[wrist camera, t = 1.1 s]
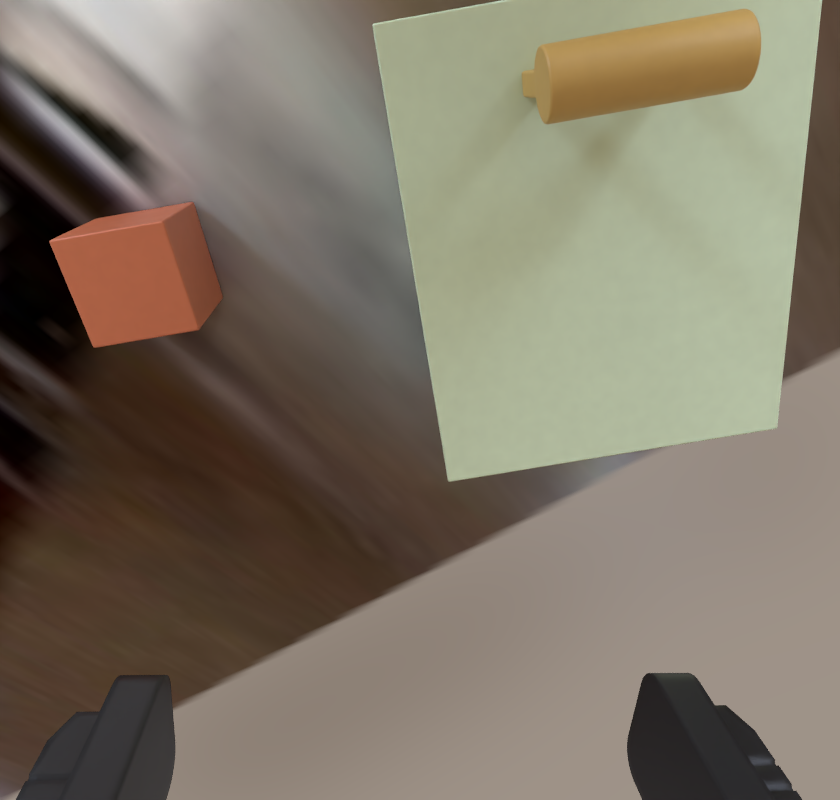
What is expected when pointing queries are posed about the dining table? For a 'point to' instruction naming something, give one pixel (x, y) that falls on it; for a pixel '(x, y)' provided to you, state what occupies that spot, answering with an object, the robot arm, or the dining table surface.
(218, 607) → the dining table surface
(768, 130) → the lid
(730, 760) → the robot arm
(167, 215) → the block
